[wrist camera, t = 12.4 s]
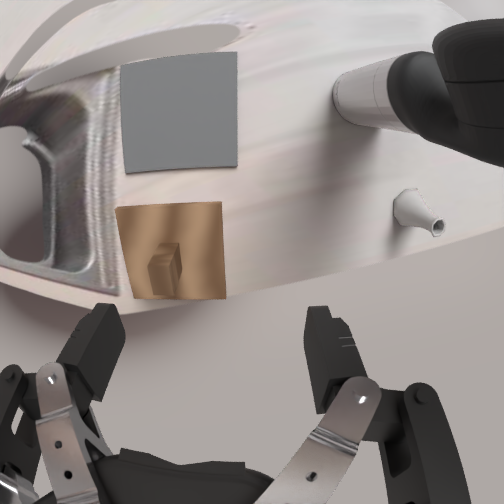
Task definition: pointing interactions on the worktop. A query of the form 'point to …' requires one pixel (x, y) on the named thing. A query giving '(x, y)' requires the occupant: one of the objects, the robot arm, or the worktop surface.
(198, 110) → the mat
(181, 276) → the lid
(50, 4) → the worktop surface
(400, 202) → the flask
